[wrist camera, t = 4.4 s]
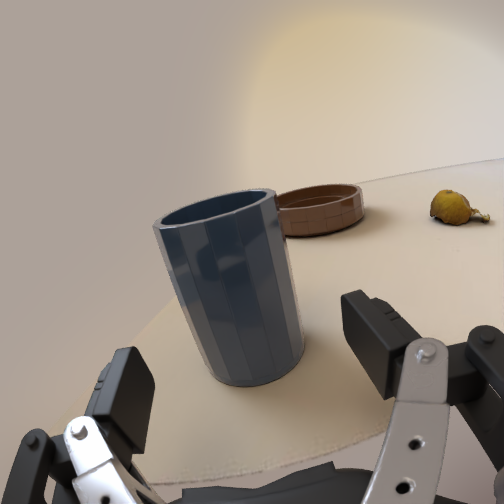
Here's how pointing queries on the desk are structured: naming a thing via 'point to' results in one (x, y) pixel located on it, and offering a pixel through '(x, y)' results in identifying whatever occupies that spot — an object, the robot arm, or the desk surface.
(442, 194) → the fruit
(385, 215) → the desk surface
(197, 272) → the cup
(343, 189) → the bowl
